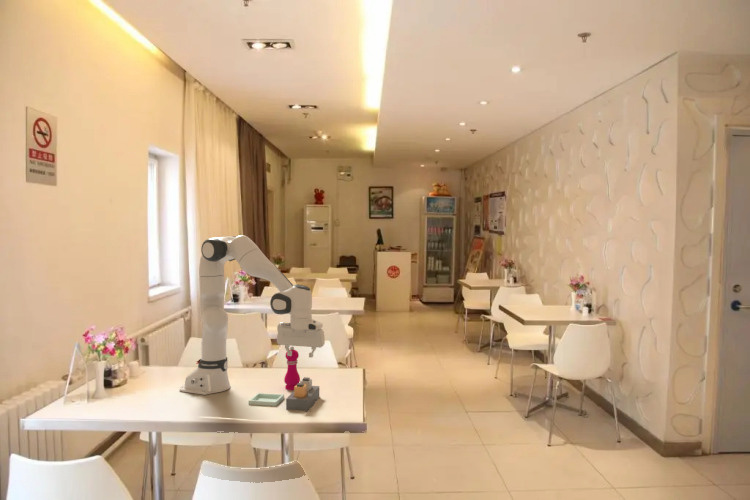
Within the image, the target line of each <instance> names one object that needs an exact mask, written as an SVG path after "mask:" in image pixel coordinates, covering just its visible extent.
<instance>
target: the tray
mask: <svg viewBox="0 0 750 500" xmlns="http://www.w3.org/2000/svg"><path fill="white" fill-rule="evenodd" d="M284 399H285V394H284V393H283V394H282V393H268V392H267V393H264V392H258V393H256V394H254V395H253V397H251V398H250V399H249V400H248V405H249V406H250V405H251V406H268V407H269V406H270V407H277V406H278V405H279V404H280V403H281V402H282V401H283V400H284Z"/></svg>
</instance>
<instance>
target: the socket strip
mask: <svg viewBox="0 0 750 500" xmlns="http://www.w3.org/2000/svg"><path fill="white" fill-rule="evenodd" d="M319 399H320V386H319V385H312V390H311V391H307V396H306V397H305V398H300V397H294V390H292V392H291V393H290V394H289V395H288V396H287V397H286V398H285V402H286V403H285V410H288V411H289V410H290V411H304V412H305V413H308V412H309V411H310V410H311V409H312V407H313V406H314V405H315V404H316V402H317V401H318V400H319Z"/></svg>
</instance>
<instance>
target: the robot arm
mask: <svg viewBox="0 0 750 500" xmlns="http://www.w3.org/2000/svg"><path fill="white" fill-rule="evenodd" d="M200 249H201V250H200V251H201V256H200V259H199V267H198V268H199V269H198V277H199V278H198V281H199V319H200V321H201V323H202V334H201V347H200V348H201V349H200V350H201V358H200V359H198V360H197V361H196V365H197V367H195V369H193V370H192V371H191V372H190V373H188V374H187V375H186V377H185V380H184V384H182V385H181V386H180V387H179V391H180V392H183V393H190V394H196V395H205V396H206V395H210V394H215V393H221V392H225V391H227V390H229V389H231V384H230V380H229V375H228V368H229V367H228V366H229V365H228V362H229V359H228V357H227V337H228V329H229V328H228V327H229V326H228V325H229V316H228V313H227V311H226V310H225V294H226V285H225V284H226V283H225V279H226V278H225V264H226V263H227V262H233V261H235V260H236V262H237V264H238V266H240V268H241V269H242V270H243V271H244V272H245V273H246V274H247V275H249V276H250V277H254V278H259V279H263V280H267V281H268V282H270V283H271V284H272V285H274V286H275V288H277V290H278V291H279V292H276V293H274V294H273V295H272V296H271V298H270V303H269V305H270V309H271V310H272V312H273V313H275V314H277V315H281V316H282V315H287V314H289V315H290V318H289V319H290V322H280V323H278V325H277V327H276V329H277V331H276V332H277V334H276V335H277V337H276V344H277V345H280V346H284V349H285V350H286V352H287V356H292V351H290V347H291V346H293V347H306V348H307V347H308V348H311V352H309V353H308V358H310V359H311V358H314V353H315V351H316V349H317V348H322V347H324V345H325V343H326V342H325V341H326V340H325V331H324V329H323V325H324V324H323V323H322V322H320V321H318V320H315V319H313V317H312V308H313V296H312V295H313V294H312V293H313V292H312V290H311V288H310V287H309V286H308V285H303V284H293V283H292V282H291V281H290V280H289V279H288V278H287V276H286V275H284V273H283V272H282V271H281V270H280V269H279V268H278V267H277V266H276V265H275V264H273V263H272V261H271V260H270V259H268V257H267V256H266V255H265V254H264V253H263V252H262V250H261V249H260V248H259V246H258V245H257V244H256V243H255V242H254V241H253V240H252V239H251V238H249V236H246V235H243V234H240V235H238V236H236V235H234V236H229V235H228V236H226V235H225V236H220V237H210V238H207V239H205V240H204V241H203V243H202V244H201V247H200Z"/></svg>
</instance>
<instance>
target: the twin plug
mask: <svg viewBox="0 0 750 500" xmlns="http://www.w3.org/2000/svg"><path fill="white" fill-rule="evenodd" d="M299 383H304V384H305V385H306V386H307V391H311V390H312V386H313V379H312V378H311V377H308V376H307V377H306V376H304V377H303V378H302V379H300V382H299Z"/></svg>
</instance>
